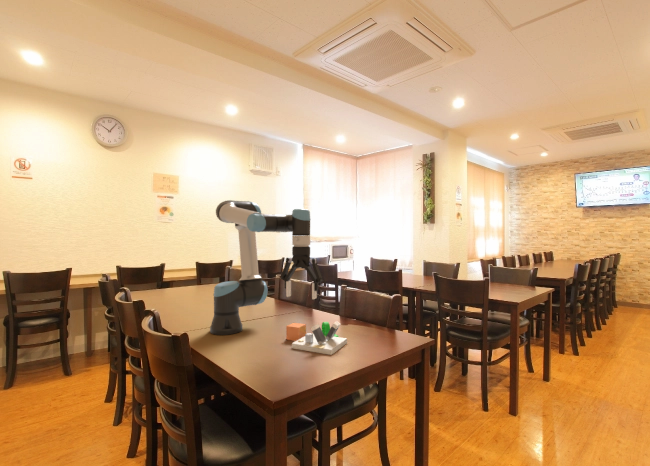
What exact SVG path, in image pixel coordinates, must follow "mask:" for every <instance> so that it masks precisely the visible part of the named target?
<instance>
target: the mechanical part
mask: <svg viewBox="0 0 650 466" xmlns="http://www.w3.org/2000/svg"><path fill="white" fill-rule="evenodd" d="M330 328H331V326H330V323H329V321H323V322H322V323H321V330H322V332H323V334H324V335H325V336H327V334H328V332H329V330H330ZM334 337H340V335H338V334H336V333H335V335H334Z"/></svg>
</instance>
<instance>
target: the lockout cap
mask: <svg viewBox="0 0 650 466" xmlns="http://www.w3.org/2000/svg"><path fill="white" fill-rule="evenodd" d="M285 327H286V328H285V329H286V331H285V333H286V335H285V336H286V339H285V340H287V341H293V342H295V341H297V340H299V339H301V338H302V337H304V336H305V334H307V324H305V323H300V322H299V323H298V322H293V323H290V324H288V325H286V326H285Z"/></svg>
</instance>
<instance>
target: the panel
mask: <svg viewBox="0 0 650 466" xmlns="http://www.w3.org/2000/svg"><path fill="white" fill-rule="evenodd" d="M312 334H313V332H312ZM324 336H325V335H324ZM325 338H326V336H325ZM347 344H348V338H347V337H341V336H339V337H333V338H331V339H329V340H326V342H324V343H323V344H321V345H319V344H318V342H317V340H316V338H315V336H314V334H313V343H311V344H309V343H305V336H304V337H302V338H301V339H299V340H297V341H293V342H292V343H291V349H295V350H299V351H300V350H301V351H307V352H311V353H317V354H324V355H329V356H330V355H331V356H332V355H333V354H335V353H336V352H337V351H339V350H340V349H341V348H342V347H344V346H345V345H347Z"/></svg>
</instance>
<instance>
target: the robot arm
mask: <svg viewBox="0 0 650 466" xmlns="http://www.w3.org/2000/svg"><path fill="white" fill-rule="evenodd" d="M291 212H292V213H291V214H275V213H274V214H270V213H262V209H261V207H260V206H259V205H258V203H256V202H254V201H249V200H247V201H246V200H244V201H243V200H231V199H230V200H223V201H222V202H220V203H219V204H218V205H217V207H216V208H215V215H216V217H217V218H216V219H218V220H219V221H220V222H223V223H226V224H234V228H235V229H236V230H237V231H238V242H239V243H238V244H239V255H240V256H239V257H240V267H241V268H240V269H241V277H240V279H238V280H231V281H228V280H227V281H222V282H220V283H217V284H216V285H215V286H214V289H213V317H212V321H211V325H210V328H209V332H210V334H212V335H215V336H216V335H217V336H226V335H234V334H237V333H240V332H242V331H243V322H242V320H241V317H240V309H239V308H243V307H248V306H249V307H250V306H257V305H260V304H263V303H265V301H266V299H267V296H268V289H269V288H268V285H267V282H266V281H265V280H263V277H262V276H261V275H259V262H258V252H257V251H258V248H257V236H256V233H263V232H264V233H267V232H269V233H291V235H292V238H291V239H292V241H291V242H292V243H291V245H293V246H292V248H291V249H292V250H291V251H292V254H291V255H292V257H290V256H289V257H286V258H285V264H284V266H283V270H282V272H281V275H280V280H283V281H284V289H286V290H285V291H286V292H285V294H286V297H287V298H290V297H291V296H292V281H291V278H292V276H294V273H295V272H296V270H297V269H304V270H305V271H306V272H307V273H308V275H309V277H310V279H311V280H312V283H311V300H315V299H318V298H317V297H318V293H317V292H318V291H319V289H320V288H319V287H320V286H319V283H321V282H323V281H324V279H323V276H322V273H321V270H320V267H319V264H318V258H317V257H316V258H315V257H314V258H311V247H310V245H311V212H310V210H309V209H307V208H295V209H292V211H291ZM292 263H293V264H292ZM310 263H311V264H310ZM291 264H292V266H291ZM311 265H312V266H311Z"/></svg>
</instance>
